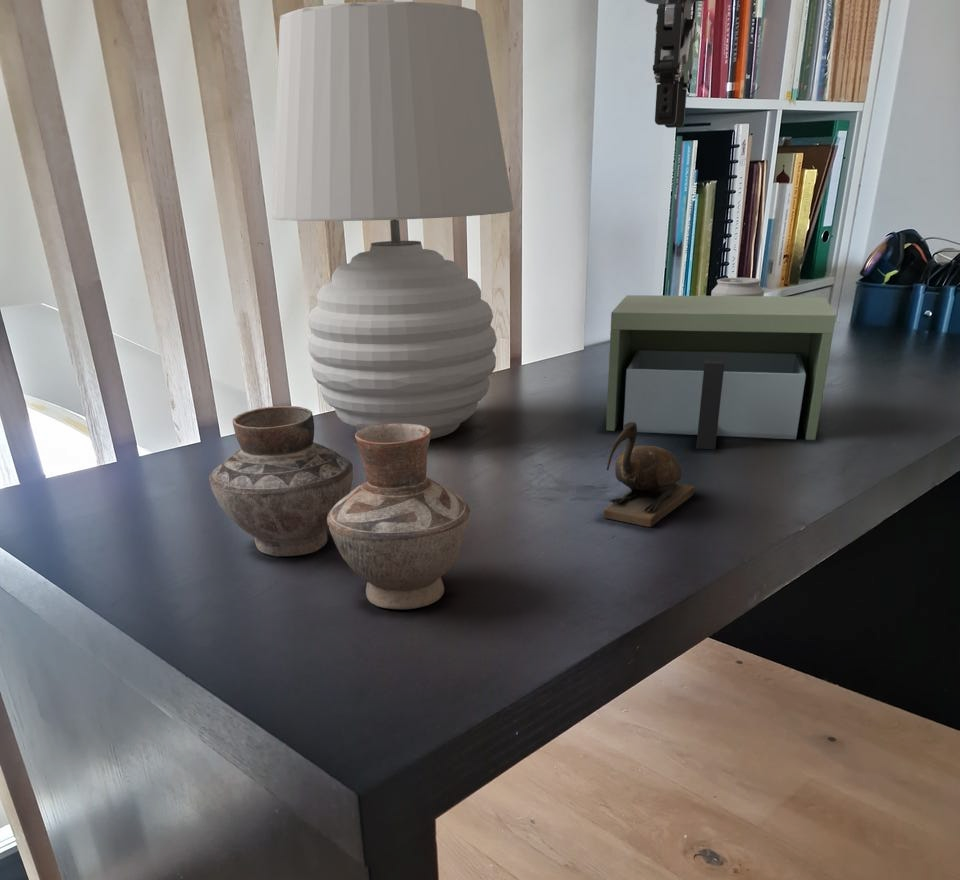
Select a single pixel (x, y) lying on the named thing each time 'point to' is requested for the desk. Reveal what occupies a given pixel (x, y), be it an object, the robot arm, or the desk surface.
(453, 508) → the pottery
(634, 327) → the cabinet
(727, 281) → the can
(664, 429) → the bin
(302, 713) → the desk surface
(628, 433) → the figurine
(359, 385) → the table lamp
